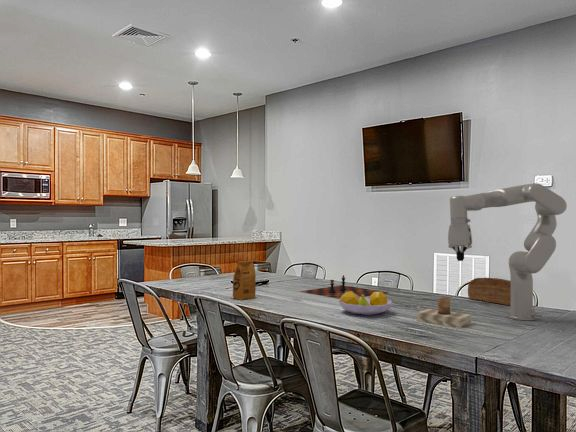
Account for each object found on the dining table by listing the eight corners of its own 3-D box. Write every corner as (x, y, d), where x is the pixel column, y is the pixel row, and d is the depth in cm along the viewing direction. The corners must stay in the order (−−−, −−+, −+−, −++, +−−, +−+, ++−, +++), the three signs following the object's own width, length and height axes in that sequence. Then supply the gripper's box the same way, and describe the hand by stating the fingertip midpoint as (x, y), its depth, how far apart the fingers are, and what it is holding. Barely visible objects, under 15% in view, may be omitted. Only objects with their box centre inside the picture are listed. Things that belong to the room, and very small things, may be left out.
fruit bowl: (350, 305, 253) (350, 284, 253) (399, 311, 239) (399, 288, 239) (327, 314, 229) (327, 291, 229) (380, 321, 215) (380, 296, 215)
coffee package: (230, 298, 274) (230, 260, 274) (248, 296, 282) (248, 259, 282) (239, 300, 267) (240, 261, 267) (257, 298, 274) (257, 260, 275)
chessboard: (341, 286, 327) (341, 270, 327) (388, 293, 296) (388, 276, 296) (299, 293, 301) (298, 275, 301) (345, 301, 270) (345, 282, 270)
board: (471, 323, 210) (471, 314, 210) (459, 328, 202) (459, 318, 202) (429, 317, 224) (429, 308, 224) (417, 320, 216) (417, 312, 216)
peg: (452, 322, 213) (452, 298, 213) (446, 324, 209) (447, 299, 209) (441, 320, 217) (441, 296, 217) (435, 322, 213) (435, 298, 213)
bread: (515, 307, 250) (515, 282, 250) (464, 299, 275) (464, 276, 275) (527, 305, 257) (527, 280, 257) (476, 297, 282) (476, 275, 282)
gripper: (477, 221, 220) (479, 260, 220) (447, 222, 230) (448, 259, 230) (471, 221, 214) (473, 261, 214) (440, 222, 224) (441, 260, 224)
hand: (460, 260), depth 222 cm, fingers closed
